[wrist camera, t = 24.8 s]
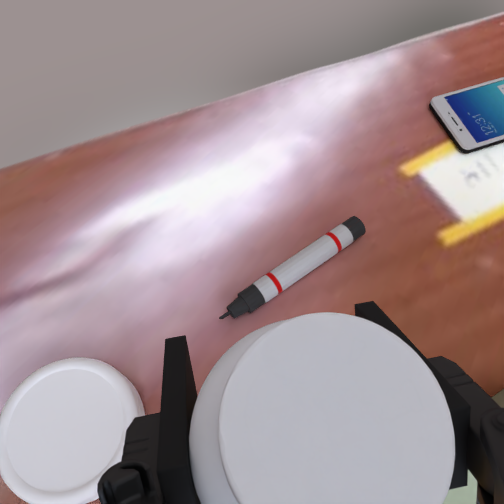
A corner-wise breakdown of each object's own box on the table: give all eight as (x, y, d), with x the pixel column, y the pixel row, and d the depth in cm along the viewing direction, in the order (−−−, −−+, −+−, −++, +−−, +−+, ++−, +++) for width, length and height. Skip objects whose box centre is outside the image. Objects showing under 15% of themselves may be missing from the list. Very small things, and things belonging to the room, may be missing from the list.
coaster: (28, 530, 32) (4, 537, 29) (3, 395, 36) (-20, 387, 33) (164, 469, 34) (155, 468, 31) (126, 346, 38) (115, 335, 35)
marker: (348, 223, 43) (353, 212, 42) (362, 237, 43) (367, 227, 41) (214, 314, 39) (212, 306, 38) (227, 332, 39) (226, 325, 37)
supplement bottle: (315, 353, 23) (389, 224, 11) (390, 490, 20) (591, 511, 8) (187, 416, 21) (119, 346, 10) (251, 572, 19) (263, 733, 7)
